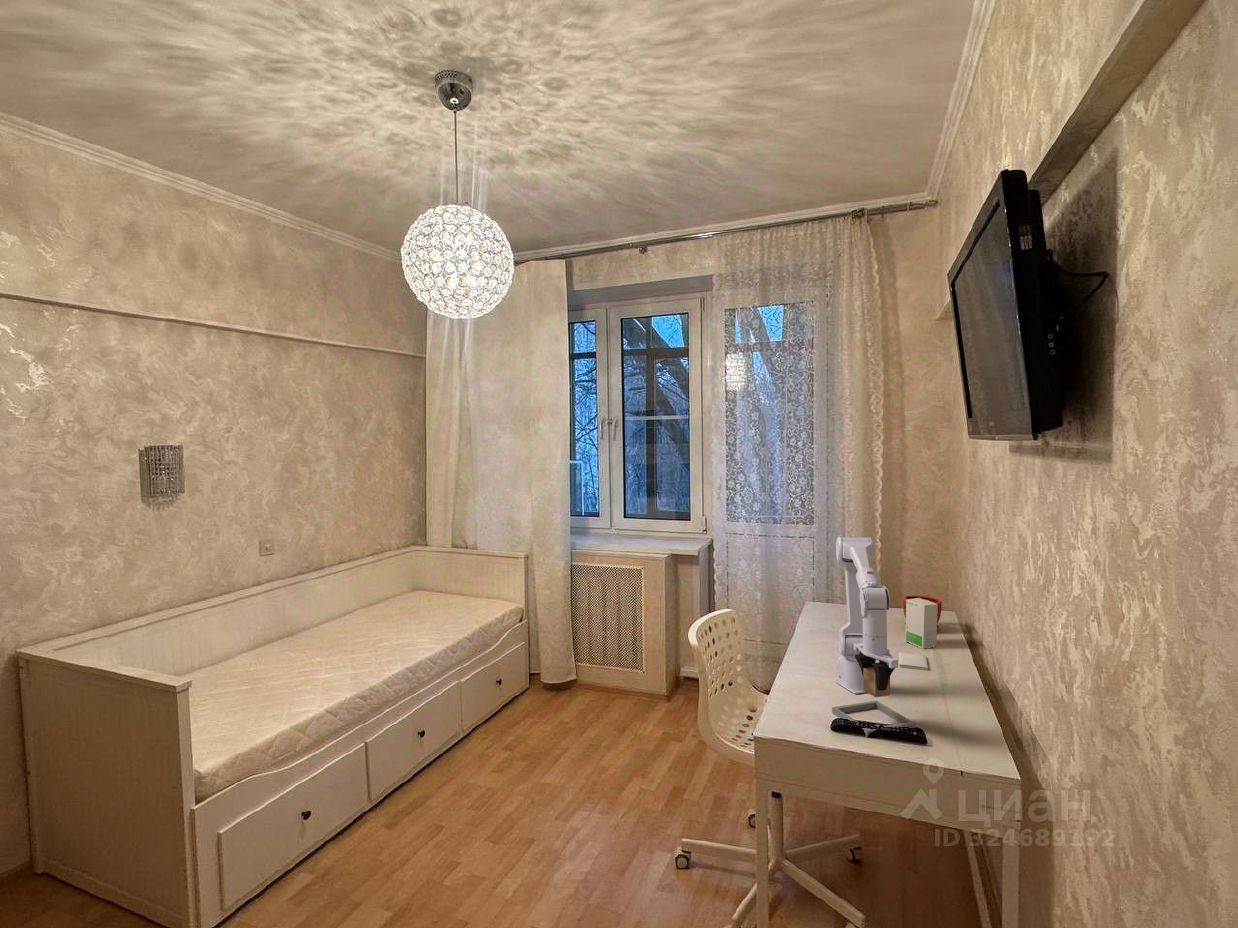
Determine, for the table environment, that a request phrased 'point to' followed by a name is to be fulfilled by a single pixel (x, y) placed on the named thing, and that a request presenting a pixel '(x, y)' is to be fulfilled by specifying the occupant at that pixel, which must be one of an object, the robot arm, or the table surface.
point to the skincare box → (921, 622)
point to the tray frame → (844, 709)
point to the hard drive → (912, 661)
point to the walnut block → (873, 684)
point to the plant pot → (924, 599)
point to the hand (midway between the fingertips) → (875, 686)
